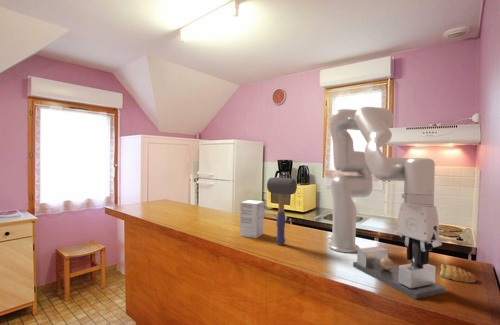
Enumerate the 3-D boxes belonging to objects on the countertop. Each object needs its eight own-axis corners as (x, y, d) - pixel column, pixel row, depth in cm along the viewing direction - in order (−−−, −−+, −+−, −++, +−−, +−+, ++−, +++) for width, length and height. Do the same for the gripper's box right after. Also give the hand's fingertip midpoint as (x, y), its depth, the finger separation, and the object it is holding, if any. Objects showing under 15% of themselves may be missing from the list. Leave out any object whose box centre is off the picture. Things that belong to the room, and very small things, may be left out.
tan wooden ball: (377, 268, 90) (377, 256, 90) (386, 267, 91) (386, 255, 91) (387, 273, 86) (387, 260, 86) (396, 271, 87) (396, 259, 87)
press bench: (352, 266, 95) (353, 248, 95) (378, 262, 99) (378, 245, 99) (415, 299, 72) (416, 275, 72) (445, 292, 77) (445, 270, 77)
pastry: (473, 278, 87) (474, 267, 87) (477, 286, 82) (477, 274, 82) (438, 271, 93) (439, 260, 92) (440, 278, 87) (440, 267, 87)
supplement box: (247, 231, 140) (248, 199, 140) (263, 233, 136) (264, 201, 136) (239, 235, 131) (239, 201, 131) (256, 238, 127) (256, 203, 127)
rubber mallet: (264, 243, 120) (265, 177, 120) (272, 239, 126) (273, 176, 126) (289, 249, 113) (291, 178, 113) (296, 244, 119) (298, 177, 119)
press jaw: (398, 282, 79) (399, 238, 79) (422, 277, 82) (423, 235, 82) (410, 288, 75) (411, 242, 75) (435, 283, 78) (436, 239, 78)
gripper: (386, 196, 85) (384, 254, 85) (437, 204, 70) (436, 274, 70) (403, 196, 88) (402, 251, 88) (456, 203, 72) (455, 271, 72)
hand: (417, 261), depth 79 cm, fingers closed on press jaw, 3 cm apart
